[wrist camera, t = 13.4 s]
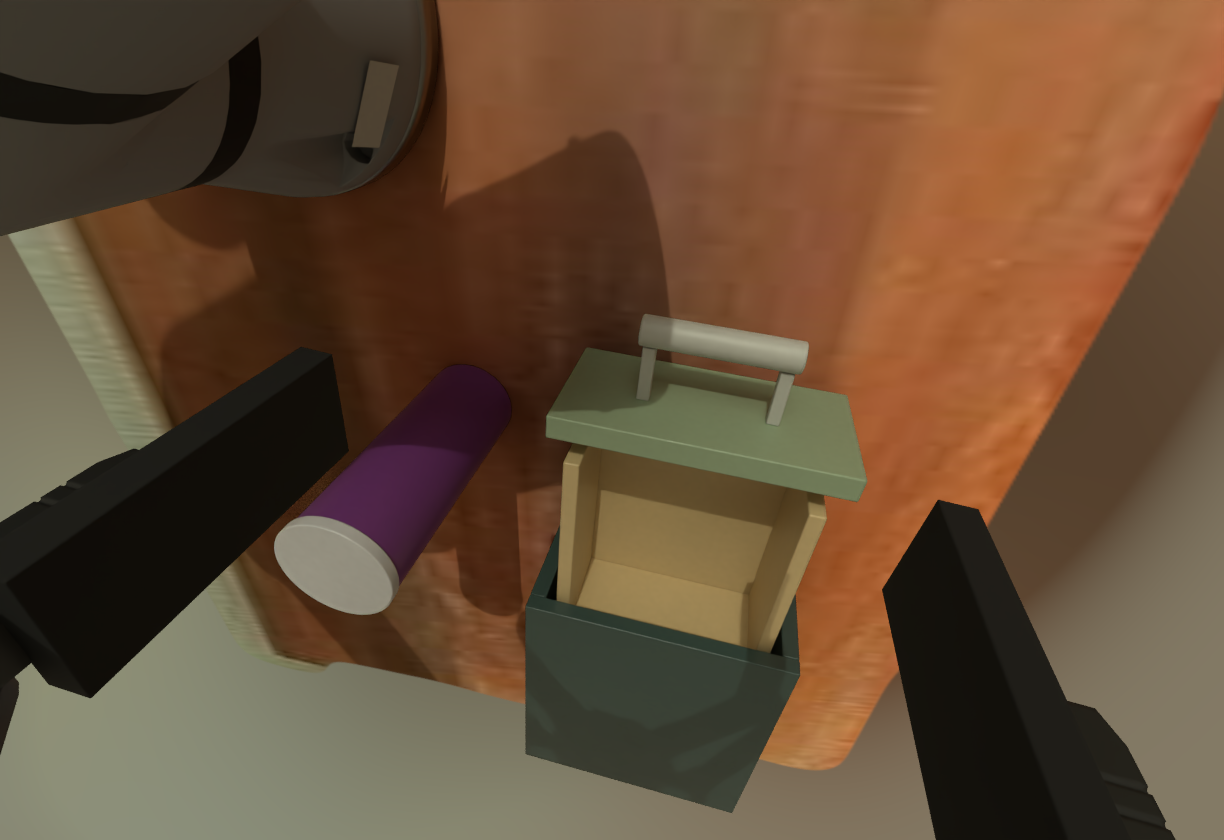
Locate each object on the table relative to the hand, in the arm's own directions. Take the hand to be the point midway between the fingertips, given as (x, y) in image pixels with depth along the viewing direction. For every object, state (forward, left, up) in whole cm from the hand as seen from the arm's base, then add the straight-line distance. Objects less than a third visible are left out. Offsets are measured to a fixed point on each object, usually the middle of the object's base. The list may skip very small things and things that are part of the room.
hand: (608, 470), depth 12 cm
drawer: (+12, +2, -17) cm, 21 cm away
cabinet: (+27, +2, -18) cm, 32 cm away
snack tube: (+12, -12, -18) cm, 24 cm away
